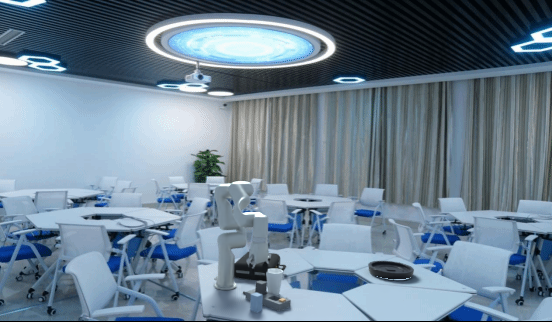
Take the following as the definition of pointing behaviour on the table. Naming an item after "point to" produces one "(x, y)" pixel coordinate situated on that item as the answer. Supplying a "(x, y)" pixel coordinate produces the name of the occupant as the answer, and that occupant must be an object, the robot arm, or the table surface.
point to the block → (256, 302)
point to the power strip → (269, 297)
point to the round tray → (390, 269)
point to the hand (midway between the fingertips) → (258, 273)
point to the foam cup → (274, 280)
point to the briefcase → (243, 269)
